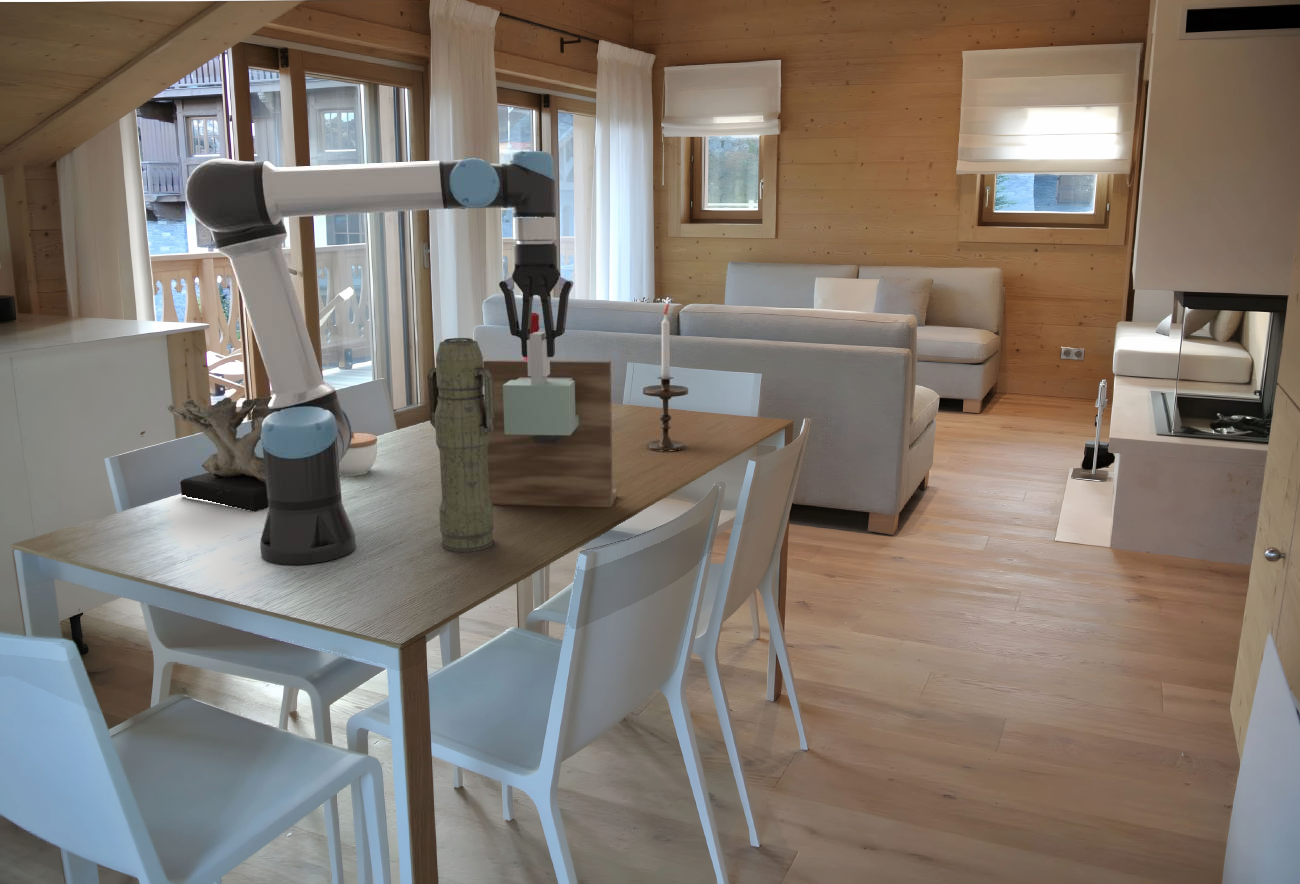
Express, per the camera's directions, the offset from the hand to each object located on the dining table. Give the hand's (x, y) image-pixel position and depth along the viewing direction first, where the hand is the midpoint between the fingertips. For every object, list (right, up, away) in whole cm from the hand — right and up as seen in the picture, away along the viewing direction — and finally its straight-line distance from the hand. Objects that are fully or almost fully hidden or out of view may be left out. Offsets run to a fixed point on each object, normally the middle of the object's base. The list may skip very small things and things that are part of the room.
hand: (539, 374), depth 183 cm
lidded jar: (-45, -19, +38) cm, 62 cm away
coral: (-61, -24, +17) cm, 68 cm away
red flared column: (-11, -8, +88) cm, 89 cm away
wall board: (+1, -24, +14) cm, 28 cm away
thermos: (-11, -30, -10) cm, 33 cm away
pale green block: (0, -10, +4) cm, 11 cm away
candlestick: (+24, -14, +61) cm, 67 cm away
